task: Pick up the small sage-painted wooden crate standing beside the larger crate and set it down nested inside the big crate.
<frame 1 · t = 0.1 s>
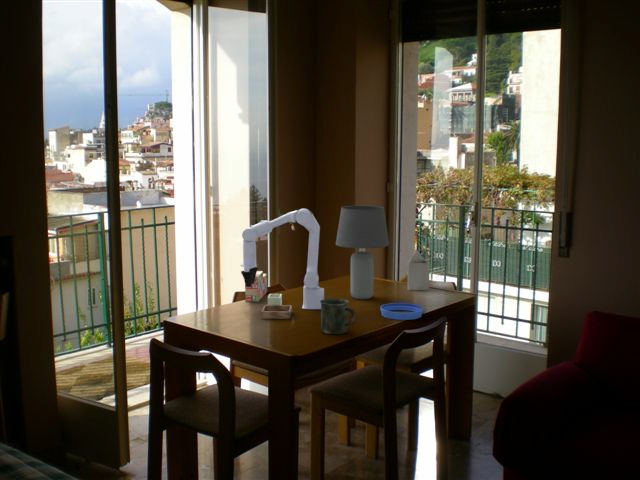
hand: (250, 285, 306), 10 cm above the table, fingers open, 7 cm apart
lamp: (361, 298, 327), on the table
mug: (337, 332, 266), on the table
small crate: (274, 309, 303), on the table
bowl: (401, 316, 293), on the table
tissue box: (422, 289, 347), on the table
stack of blocks: (256, 297, 329), on the table
big crate: (277, 315, 292), on the table
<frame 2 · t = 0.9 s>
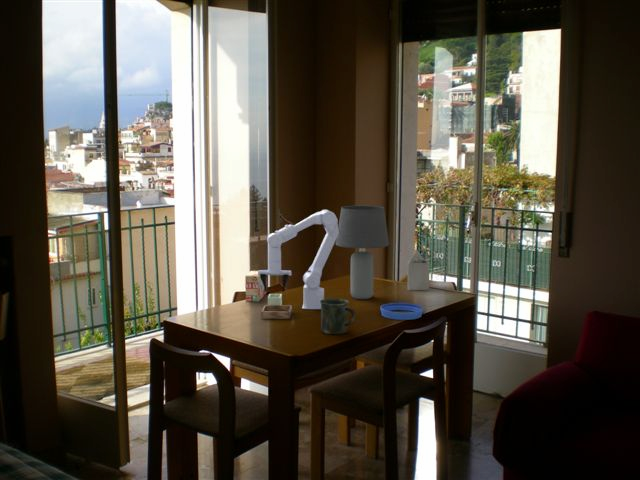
hand: (274, 291, 302), 8 cm above the table, fingers open, 7 cm apart
nothing on the table moved.
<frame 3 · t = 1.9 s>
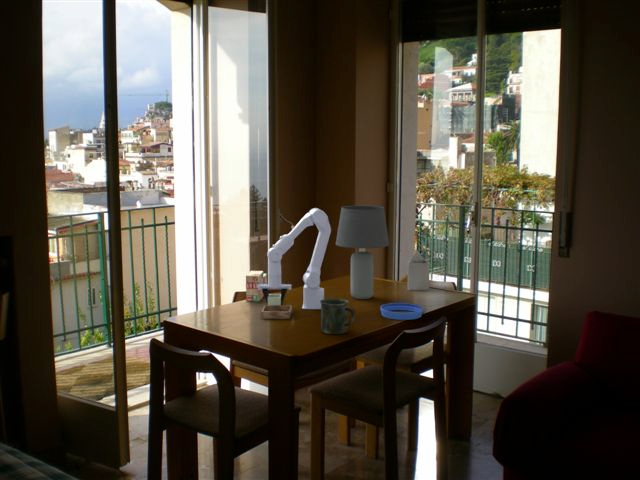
hand: (274, 305, 303), 2 cm above the table, fingers closed on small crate, 5 cm apart
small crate: (274, 309, 303), on the table, touching gripper
everything else where it was.
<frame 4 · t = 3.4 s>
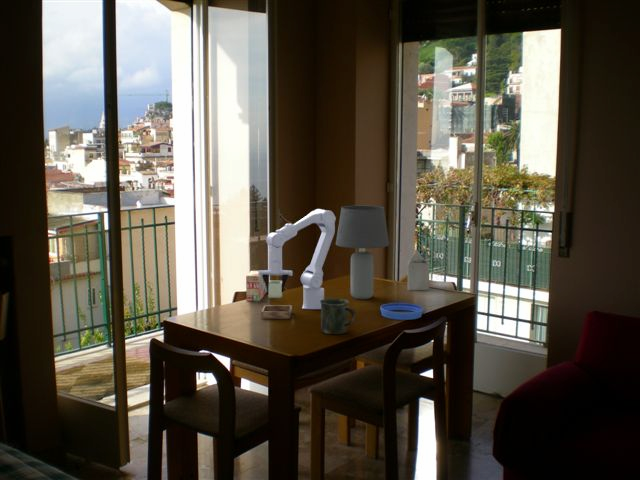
hand: (275, 291, 296), 9 cm above the table, fingers closed on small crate, 5 cm apart
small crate: (275, 295, 297), point 7 cm above the table, touching gripper
everything else where it was.
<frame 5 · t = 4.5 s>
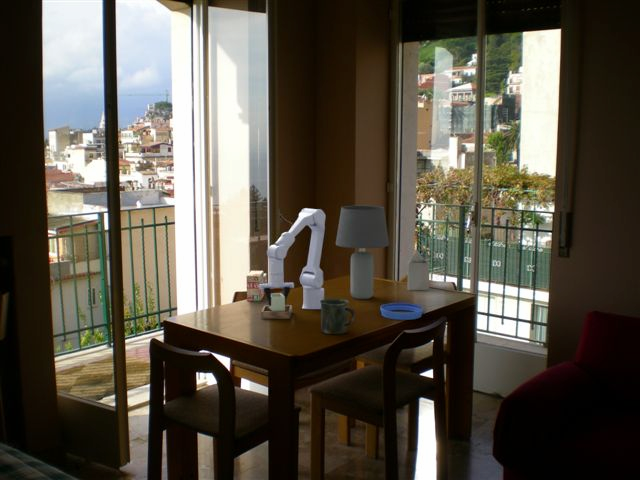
hand: (276, 305, 291), 4 cm above the table, fingers closed on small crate, 5 cm apart
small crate: (276, 309, 292), point 3 cm above the table, touching gripper
everything else where it was.
when the fingers open (4 cm above the table, at t = 5.2 s): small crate drops 1 cm, resting on big crate.
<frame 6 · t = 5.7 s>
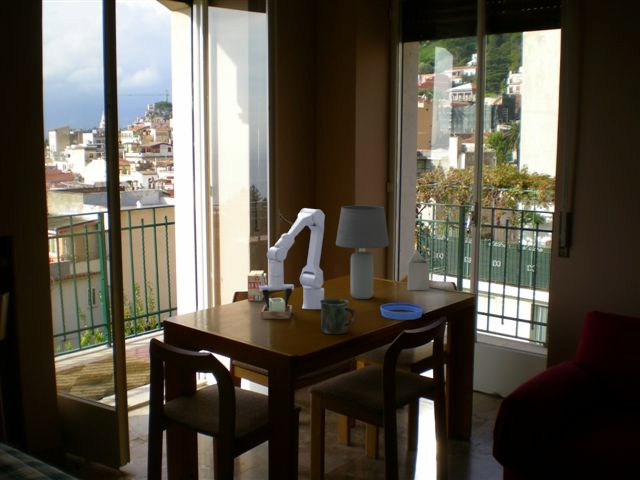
hand: (276, 306, 291), 4 cm above the table, fingers open, 7 cm apart
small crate: (276, 313, 292), point 1 cm above the table, touching big crate
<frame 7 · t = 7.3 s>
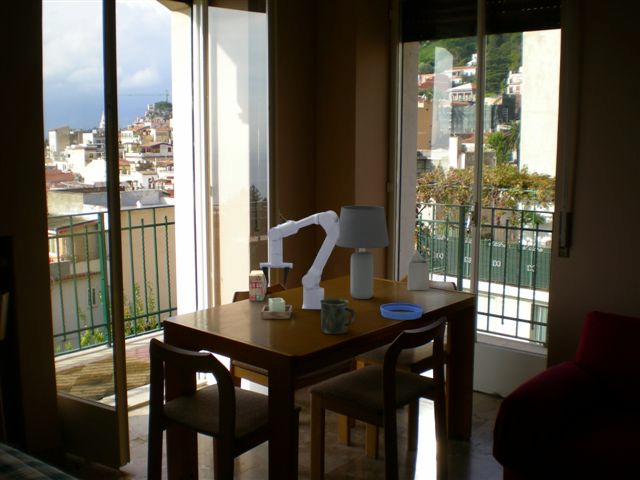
hand: (276, 283, 309), 10 cm above the table, fingers open, 7 cm apart
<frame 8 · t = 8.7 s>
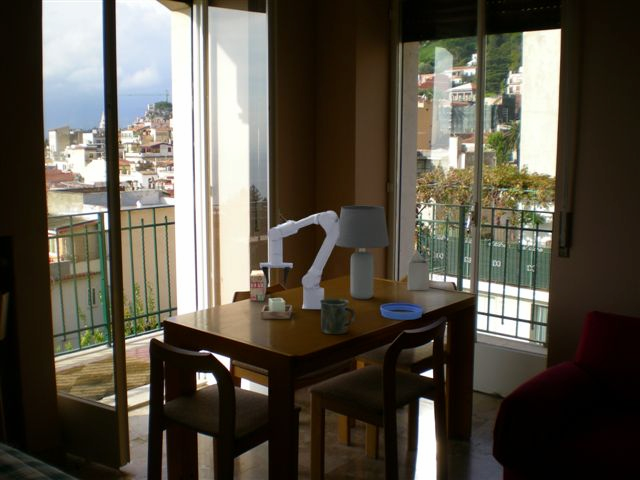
hand: (276, 283, 310), 10 cm above the table, fingers open, 7 cm apart
at the end: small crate 0.3 cm off-centre on the big crate, point 0.6 cm above the big crate's base; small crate tilted 0°; the gripper is holding nothing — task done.
